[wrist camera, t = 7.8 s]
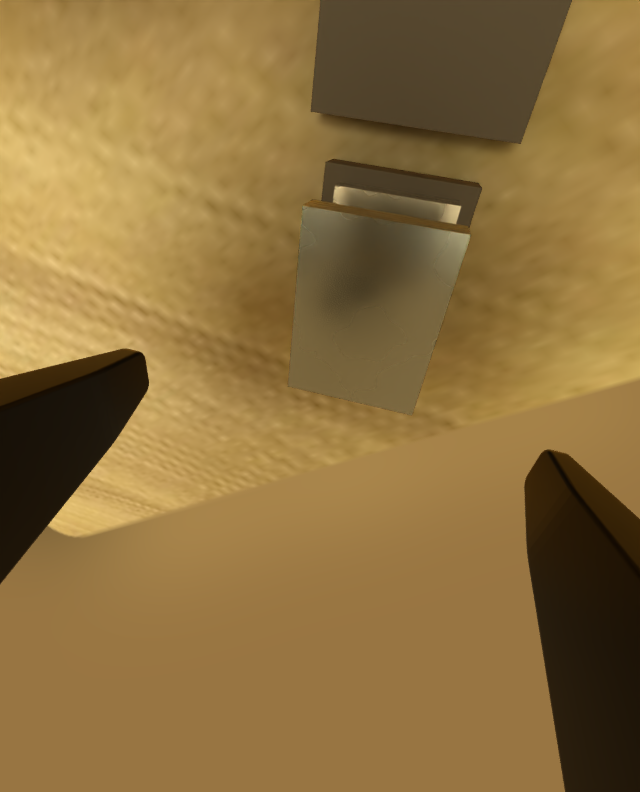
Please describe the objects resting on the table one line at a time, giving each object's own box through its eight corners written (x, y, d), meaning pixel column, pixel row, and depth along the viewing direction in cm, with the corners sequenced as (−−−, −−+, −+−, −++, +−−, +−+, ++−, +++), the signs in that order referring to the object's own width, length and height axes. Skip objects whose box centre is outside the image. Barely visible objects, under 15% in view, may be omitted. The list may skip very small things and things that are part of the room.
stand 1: (343, -124, 12) (333, -152, 11) (598, -104, 11) (619, -132, 10) (320, 112, 15) (310, 111, 14) (513, 142, 14) (520, 143, 13)
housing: (459, 201, 14) (471, 235, 10) (417, 344, 18) (412, 415, 14) (340, 181, 15) (302, 205, 11) (322, 324, 19) (287, 386, 14)
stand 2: (333, 159, 16) (325, 161, 15) (478, 183, 15) (482, 188, 14) (313, 322, 20) (306, 334, 19) (425, 346, 20) (425, 361, 18)
